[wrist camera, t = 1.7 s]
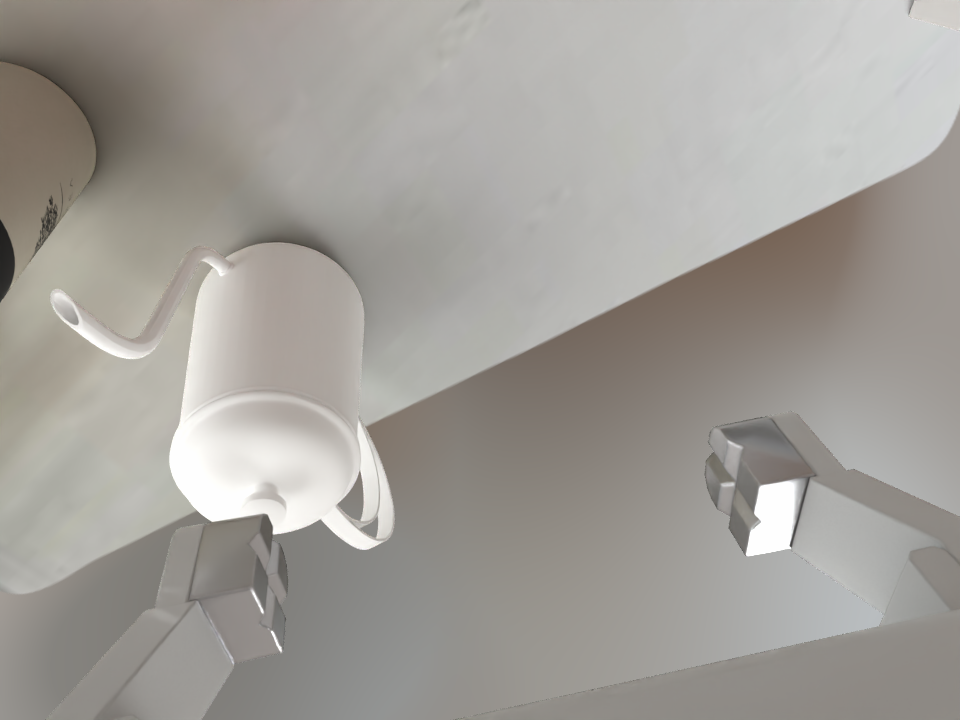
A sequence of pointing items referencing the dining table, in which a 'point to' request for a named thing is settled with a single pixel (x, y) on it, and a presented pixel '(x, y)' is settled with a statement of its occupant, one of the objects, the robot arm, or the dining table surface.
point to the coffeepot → (266, 389)
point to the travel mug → (37, 164)
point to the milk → (937, 12)
